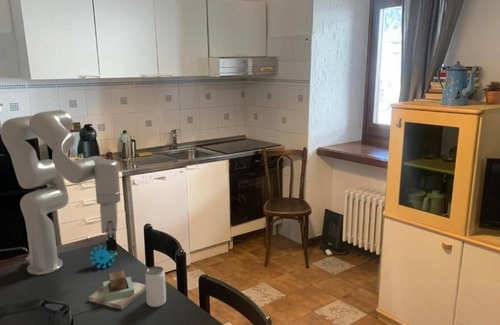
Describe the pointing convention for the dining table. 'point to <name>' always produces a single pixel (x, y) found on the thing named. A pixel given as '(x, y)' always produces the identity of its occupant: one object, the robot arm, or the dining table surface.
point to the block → (117, 281)
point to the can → (155, 286)
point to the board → (118, 302)
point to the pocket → (120, 292)
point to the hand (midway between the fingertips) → (111, 244)
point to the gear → (102, 257)
